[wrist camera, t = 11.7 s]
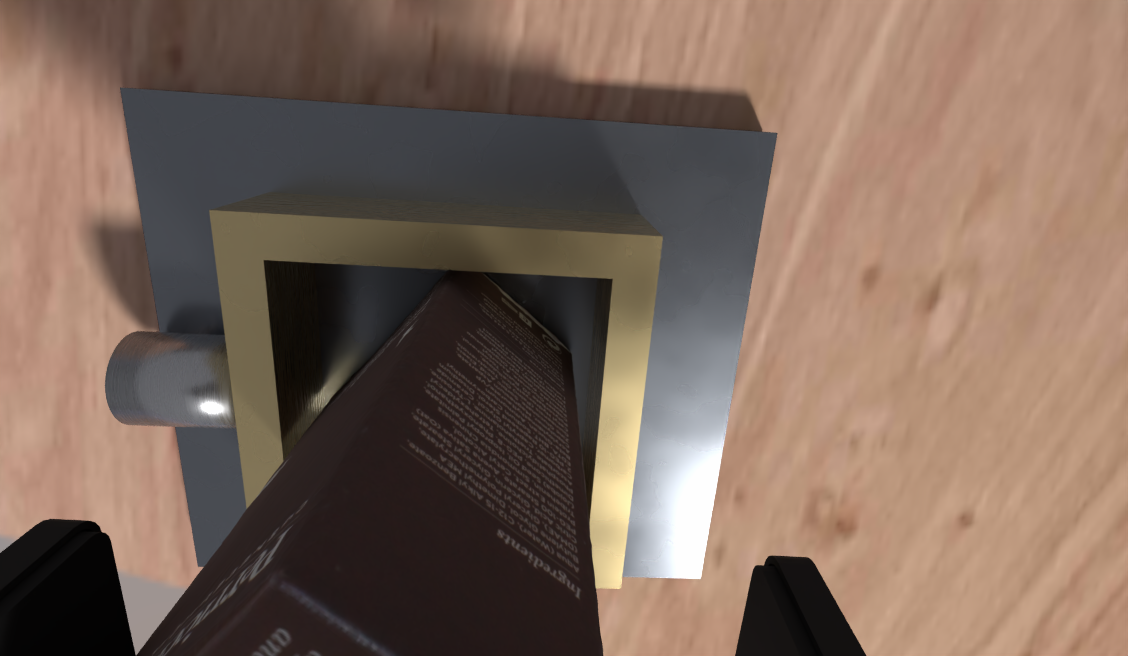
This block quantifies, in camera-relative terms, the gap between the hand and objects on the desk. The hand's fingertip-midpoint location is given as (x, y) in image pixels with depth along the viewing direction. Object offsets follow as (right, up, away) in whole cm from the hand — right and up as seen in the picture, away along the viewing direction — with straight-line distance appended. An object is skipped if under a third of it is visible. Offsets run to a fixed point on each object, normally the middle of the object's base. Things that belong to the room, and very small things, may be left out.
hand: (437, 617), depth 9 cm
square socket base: (-1, +3, +9) cm, 10 cm away
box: (-1, +3, +8) cm, 9 cm away
